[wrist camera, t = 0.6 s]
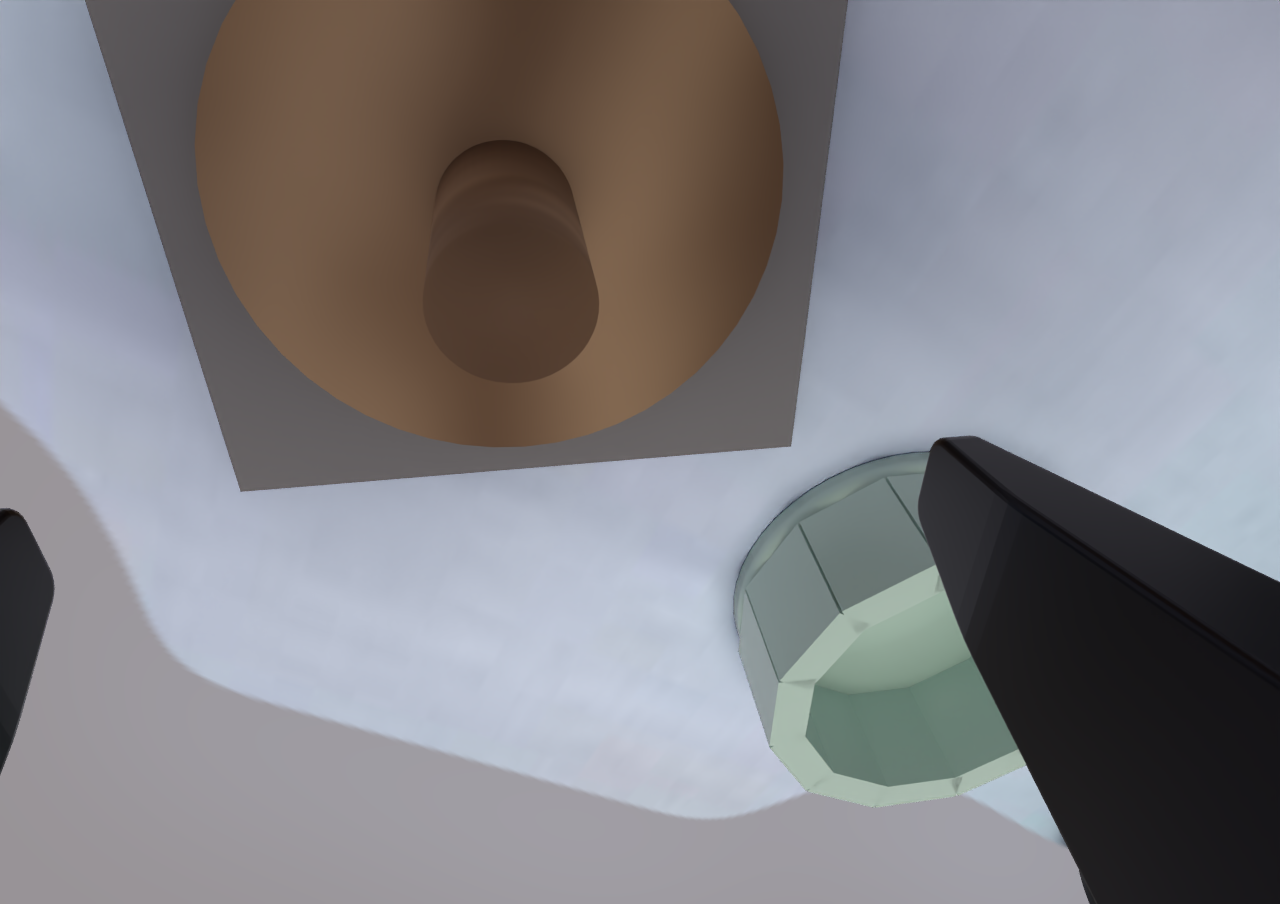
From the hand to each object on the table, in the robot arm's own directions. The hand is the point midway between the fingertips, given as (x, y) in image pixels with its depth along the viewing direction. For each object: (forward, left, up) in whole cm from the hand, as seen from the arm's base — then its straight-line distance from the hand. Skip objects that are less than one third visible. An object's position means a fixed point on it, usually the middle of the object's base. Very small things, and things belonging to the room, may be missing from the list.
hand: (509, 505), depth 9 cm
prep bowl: (-11, +14, -12) cm, 21 cm away
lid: (0, +1, -11) cm, 11 cm away
